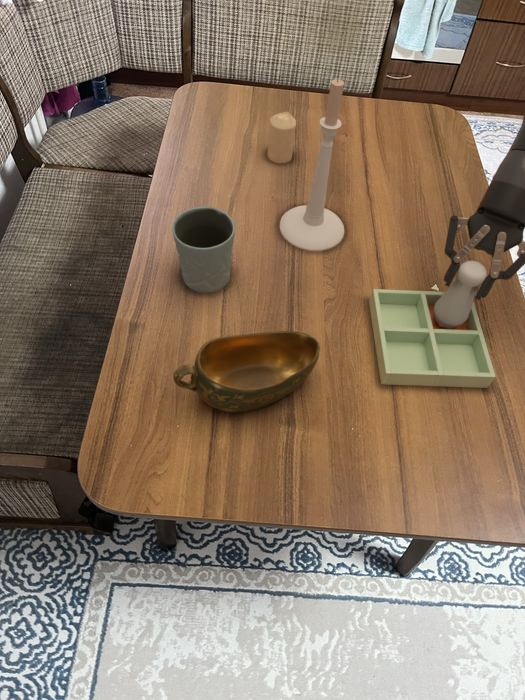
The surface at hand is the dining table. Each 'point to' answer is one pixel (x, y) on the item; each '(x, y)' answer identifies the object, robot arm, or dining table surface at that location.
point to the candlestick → (318, 191)
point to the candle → (281, 137)
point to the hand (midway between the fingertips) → (462, 292)
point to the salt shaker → (459, 295)
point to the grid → (426, 343)
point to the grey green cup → (204, 247)
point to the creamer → (250, 369)
